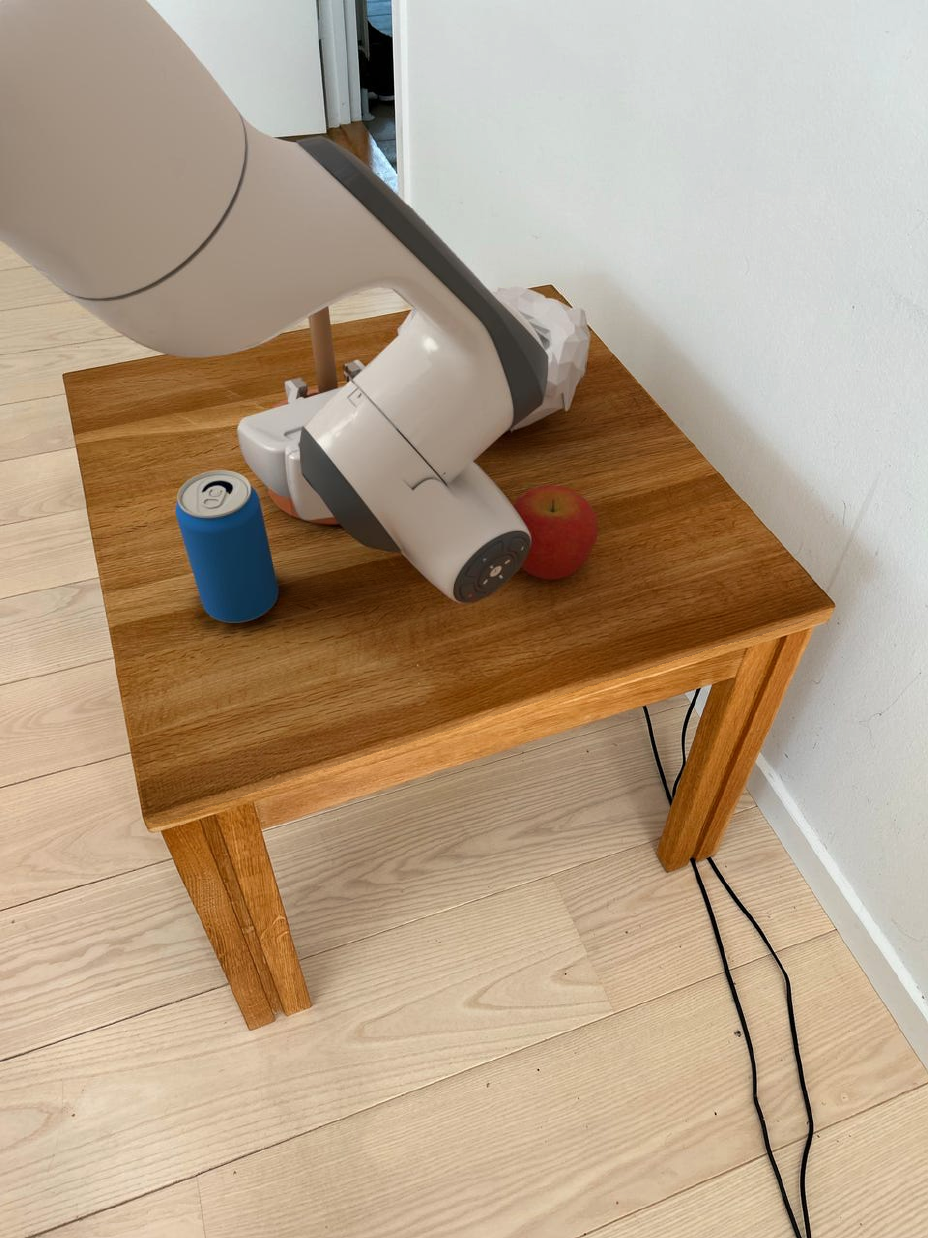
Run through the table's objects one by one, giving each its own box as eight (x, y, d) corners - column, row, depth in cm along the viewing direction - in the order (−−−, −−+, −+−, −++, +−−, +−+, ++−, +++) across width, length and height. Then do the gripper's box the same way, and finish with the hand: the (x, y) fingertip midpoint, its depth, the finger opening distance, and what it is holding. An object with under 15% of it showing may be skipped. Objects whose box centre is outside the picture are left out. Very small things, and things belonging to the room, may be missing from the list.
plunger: (338, 503, 88) (312, 305, 74) (299, 479, 91) (266, 283, 76) (380, 475, 91) (362, 279, 76) (340, 453, 94) (316, 259, 79)
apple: (596, 596, 80) (605, 528, 74) (505, 596, 80) (507, 528, 75) (589, 537, 85) (597, 469, 80) (503, 537, 86) (506, 469, 80)
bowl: (609, 454, 94) (620, 366, 87) (409, 474, 92) (404, 386, 85) (563, 349, 108) (569, 266, 101) (389, 364, 106) (383, 281, 99)
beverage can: (287, 578, 82) (265, 468, 73) (269, 631, 78) (244, 522, 69) (216, 573, 82) (186, 464, 74) (194, 626, 78) (159, 516, 69)
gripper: (501, 386, 77) (421, 315, 85) (271, 463, 70) (208, 377, 78) (499, 449, 81) (423, 375, 90) (284, 527, 74) (222, 440, 82)
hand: (321, 377), depth 84 cm, fingers open, 4 cm apart
